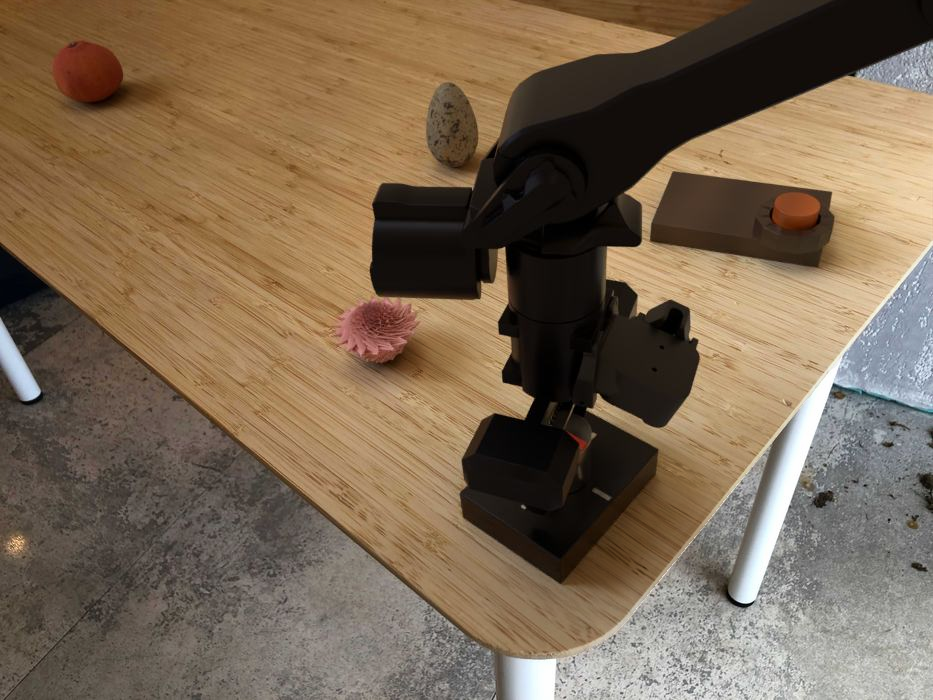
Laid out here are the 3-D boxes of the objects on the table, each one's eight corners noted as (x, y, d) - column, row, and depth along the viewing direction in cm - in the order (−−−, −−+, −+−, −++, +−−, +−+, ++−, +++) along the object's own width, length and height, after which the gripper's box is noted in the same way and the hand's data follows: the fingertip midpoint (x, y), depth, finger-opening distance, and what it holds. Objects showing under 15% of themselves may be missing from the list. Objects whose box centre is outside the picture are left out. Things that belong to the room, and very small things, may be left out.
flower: (403, 393, 73) (393, 345, 69) (321, 374, 75) (307, 328, 71) (438, 333, 78) (431, 286, 74) (360, 318, 80) (350, 271, 77)
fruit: (52, 110, 119) (27, 54, 114) (92, 81, 125) (71, 27, 120) (102, 116, 116) (79, 60, 111) (141, 86, 122) (121, 32, 117)
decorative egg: (454, 145, 102) (445, 66, 96) (491, 160, 99) (485, 79, 92) (419, 167, 99) (408, 87, 93) (456, 182, 96) (447, 101, 89)
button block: (832, 210, 86) (841, 176, 84) (821, 277, 79) (830, 242, 76) (671, 188, 92) (674, 155, 89) (646, 249, 84) (648, 215, 82)
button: (818, 211, 81) (822, 195, 79) (814, 234, 78) (818, 219, 77) (774, 205, 82) (777, 189, 81) (769, 228, 79) (772, 212, 78)
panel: (560, 421, 69) (560, 394, 67) (656, 474, 64) (659, 447, 62) (462, 517, 63) (458, 491, 61) (560, 584, 58) (560, 559, 56)
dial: (517, 474, 61) (514, 435, 58) (554, 437, 64) (553, 398, 61) (566, 505, 59) (566, 466, 56) (603, 466, 61) (604, 426, 58)
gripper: (657, 439, 41) (639, 607, 52) (723, 224, 53) (698, 396, 64) (446, 389, 45) (470, 556, 55) (554, 199, 57) (556, 365, 68)
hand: (558, 461), depth 61 cm, fingers open, 9 cm apart
